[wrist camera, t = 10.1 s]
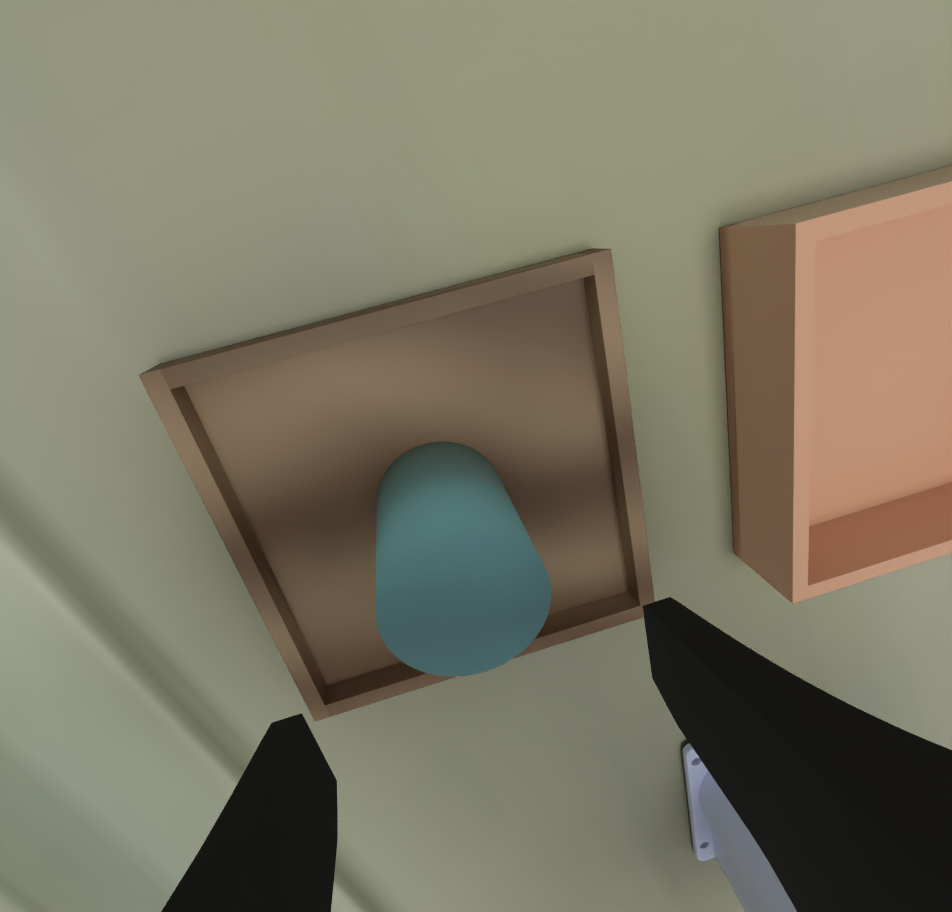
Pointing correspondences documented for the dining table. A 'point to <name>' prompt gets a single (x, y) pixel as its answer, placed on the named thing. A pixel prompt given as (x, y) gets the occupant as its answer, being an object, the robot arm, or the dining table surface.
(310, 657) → the tray
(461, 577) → the teal cylinder
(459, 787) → the dining table surface
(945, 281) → the pink storage bin
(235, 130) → the dining table surface
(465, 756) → the dining table surface
